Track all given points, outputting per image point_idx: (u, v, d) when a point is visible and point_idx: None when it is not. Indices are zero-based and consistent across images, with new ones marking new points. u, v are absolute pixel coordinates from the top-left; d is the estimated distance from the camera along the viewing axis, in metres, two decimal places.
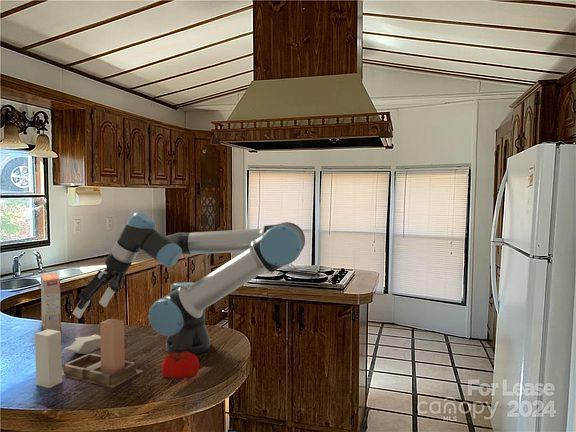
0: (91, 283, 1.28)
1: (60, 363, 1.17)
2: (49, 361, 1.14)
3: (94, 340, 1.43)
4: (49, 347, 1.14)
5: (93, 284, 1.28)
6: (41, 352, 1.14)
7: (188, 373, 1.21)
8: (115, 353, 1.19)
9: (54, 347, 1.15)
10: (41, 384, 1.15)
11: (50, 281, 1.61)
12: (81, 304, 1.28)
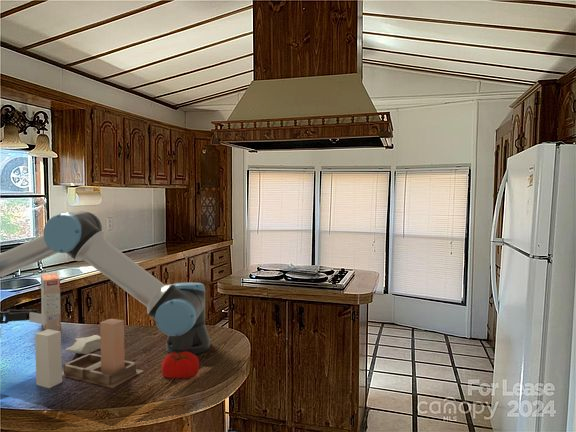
0: None
1: (60, 363, 1.17)
2: (49, 361, 1.14)
3: (95, 340, 1.42)
4: (49, 347, 1.14)
5: None
6: (41, 352, 1.14)
7: (188, 373, 1.21)
8: (115, 353, 1.19)
9: (54, 347, 1.15)
10: (41, 384, 1.15)
11: (50, 281, 1.61)
12: None
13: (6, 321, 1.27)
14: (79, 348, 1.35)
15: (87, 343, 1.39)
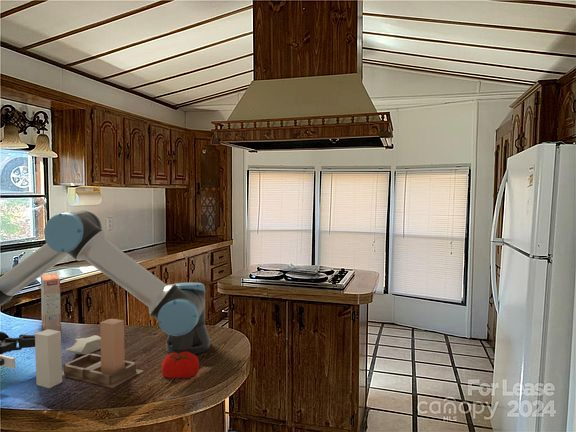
0: None
1: (60, 363, 1.17)
2: (49, 361, 1.14)
3: (96, 341, 1.42)
4: (49, 347, 1.14)
5: None
6: (41, 352, 1.14)
7: (188, 373, 1.21)
8: (115, 353, 1.19)
9: (54, 347, 1.15)
10: (41, 384, 1.15)
11: (50, 281, 1.61)
12: None
13: (20, 348, 1.25)
14: (79, 348, 1.35)
15: (87, 343, 1.39)
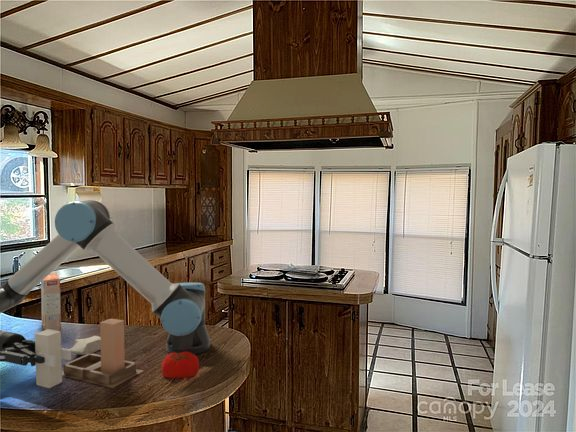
0: (10, 360, 1.14)
1: (60, 363, 1.17)
2: None
3: (96, 341, 1.42)
4: (49, 347, 1.14)
5: (10, 358, 1.13)
6: (41, 352, 1.14)
7: (188, 373, 1.21)
8: (115, 353, 1.19)
9: (54, 347, 1.15)
10: (41, 384, 1.15)
11: (50, 281, 1.61)
12: (36, 359, 1.12)
13: None
14: (80, 349, 1.34)
15: (88, 344, 1.38)
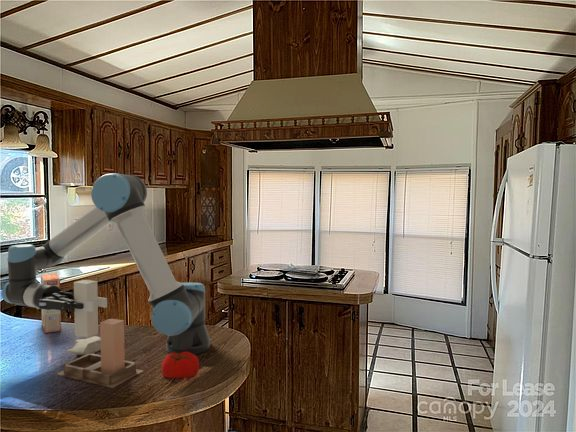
0: (51, 307, 1.22)
1: (96, 311, 1.25)
2: None
3: (97, 341, 1.41)
4: (87, 294, 1.22)
5: (51, 304, 1.22)
6: (80, 299, 1.23)
7: (188, 373, 1.21)
8: (115, 353, 1.19)
9: (91, 295, 1.23)
10: (79, 329, 1.23)
11: (50, 281, 1.61)
12: (75, 305, 1.21)
13: None
14: (81, 349, 1.34)
15: (89, 344, 1.38)
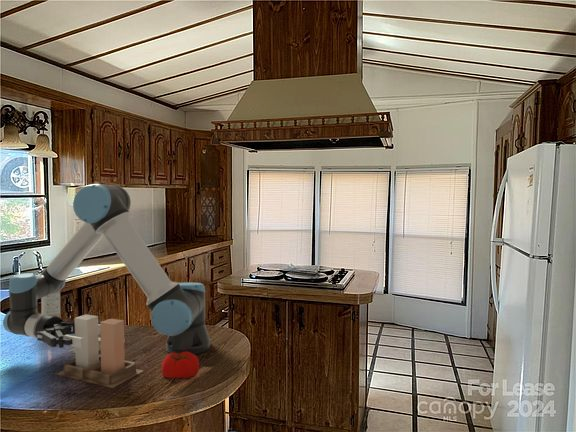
0: (45, 340, 1.22)
1: (97, 346, 1.26)
2: (88, 343, 1.23)
3: None
4: (88, 330, 1.23)
5: (45, 338, 1.22)
6: (80, 335, 1.23)
7: (188, 373, 1.21)
8: (115, 353, 1.19)
9: (92, 331, 1.24)
10: (80, 365, 1.24)
11: None
12: (64, 341, 1.19)
13: (73, 332, 1.31)
14: None
15: None
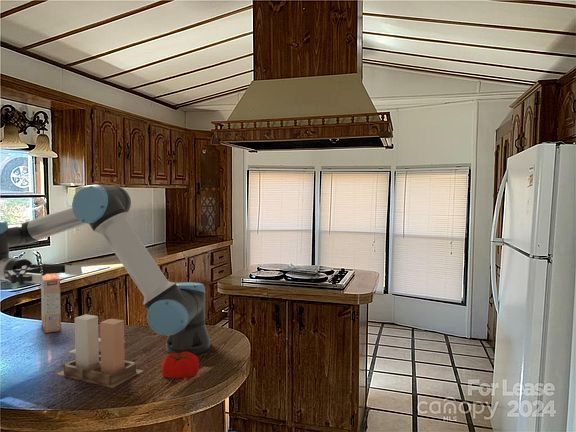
0: (9, 278, 1.25)
1: (97, 346, 1.26)
2: (88, 343, 1.23)
3: None
4: (88, 330, 1.23)
5: (9, 276, 1.25)
6: (80, 335, 1.23)
7: (188, 373, 1.21)
8: (115, 353, 1.19)
9: (92, 331, 1.24)
10: (80, 365, 1.24)
11: (50, 281, 1.61)
12: (24, 277, 1.22)
13: (43, 273, 1.35)
14: None
15: None
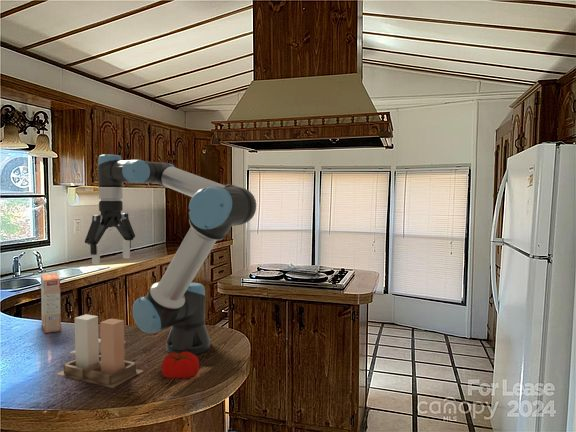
0: (91, 227, 1.38)
1: (97, 346, 1.26)
2: (88, 343, 1.23)
3: (99, 343, 1.40)
4: (88, 330, 1.23)
5: (92, 227, 1.37)
6: (80, 335, 1.23)
7: (188, 373, 1.21)
8: (115, 353, 1.19)
9: (92, 331, 1.24)
10: (80, 365, 1.24)
11: (50, 281, 1.61)
12: (92, 249, 1.37)
13: None
14: None
15: None
